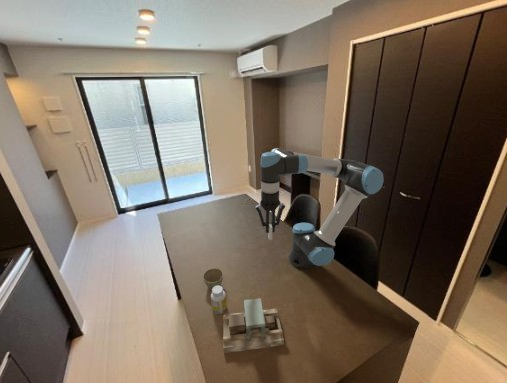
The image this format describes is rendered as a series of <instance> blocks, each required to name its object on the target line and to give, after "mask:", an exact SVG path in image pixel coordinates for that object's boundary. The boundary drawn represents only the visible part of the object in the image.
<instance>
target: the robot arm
mask: <svg viewBox="0 0 507 383" xmlns="http://www.w3.org/2000/svg"><path fill="white" fill-rule="evenodd" d="M259 166H260V190H261V191H260V198H261V199H260V202H259V204H255V210H256V212H258V217H259V219H260V222H261V226H262V227H265V232H266V234H267V238H268V240H269V241H272V240H273V233H275V232H276V231H275V230H276V229H275V228H276V226H279V224H280V221H281V217H282V215H283V211H284V209H285V208H286V205H285V203H284V202H281V201H280V179H281V177H280V176H289V175H297V174H298V175H299V174H302V173H306V172H307V171H308V172H314V173H319V174H324V175H329V176H330V177H332V178H337V179H339V180H341V181H343V182H345V184H344V188H345V189H344V191H343V192H342V194H341V196H340V197H339V199H338V200H337V202H336V204H335V205H334V207H333V208H332V209H331V211H330V212H329V215H328V216H327V217H326V219H325V220H324V223H323V224H322V225H321V227H320V228H319V230H316V228H315V226H314V224H312V223H309V222H299V223H295V224H294V225H293V227H292V230H291V232H292V233H291V234H292V237H291V238H292V241H291V249H290V250H289V253H288V262H289V263H290V265H292V266H294V267H295V268H298V269H309V268H312V267H313V266H318V267H322V266H324V265H328V264H330V263H331V262H332V260H333V259H334V257H335V251H334V249H335V246H336V242H335V241H336V239H337V237H338V236H339V234H340V233H341V231H342V230H343V228H344V227H345V225H346V223H348V221H349V220H350V218H351V216H352V215H353V214H354V212H355V211H356V209H357V207H358V206H359V205H360V203H361V202H362V200H363V199H367V198H368V197H369V196H371V195H374V194H376V193H378V192H379V191H380V190H381V188H383V184H384V179H385V178H384V173H383V171H381V170H380V168H377V167H375V166H373V165H369V164H366V163H363V162H360V161H357V160H352V159H343V158H331V159H330V158H328V157H322V156H315V155H311V154H306V153H301V152H296V151H290V150H286V149H283V148H279V147H275V148H273V149H272V150H271V151H267V152H263V153H262V154H261V156H260V165H259ZM277 208H278V210H277ZM262 209H264V212H265V213H264V214H265V216H264V217H263V213H262ZM276 210H277V214H276ZM264 218H265V219H264ZM270 221H271V222H270ZM270 223H271V224H270Z"/></svg>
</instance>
